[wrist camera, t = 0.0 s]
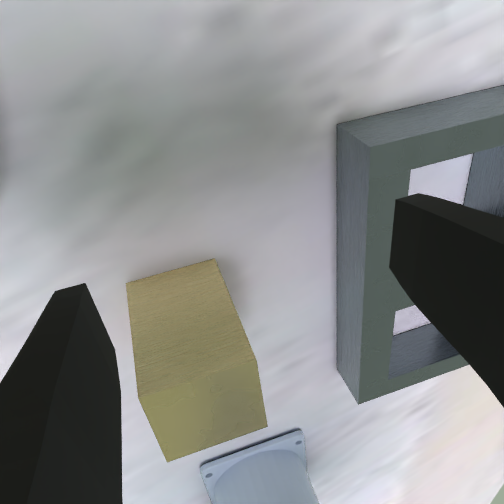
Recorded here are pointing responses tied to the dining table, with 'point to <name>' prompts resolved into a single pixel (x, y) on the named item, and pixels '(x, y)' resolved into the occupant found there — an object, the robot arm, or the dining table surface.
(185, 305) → the square peg
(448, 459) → the dining table surface
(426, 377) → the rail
